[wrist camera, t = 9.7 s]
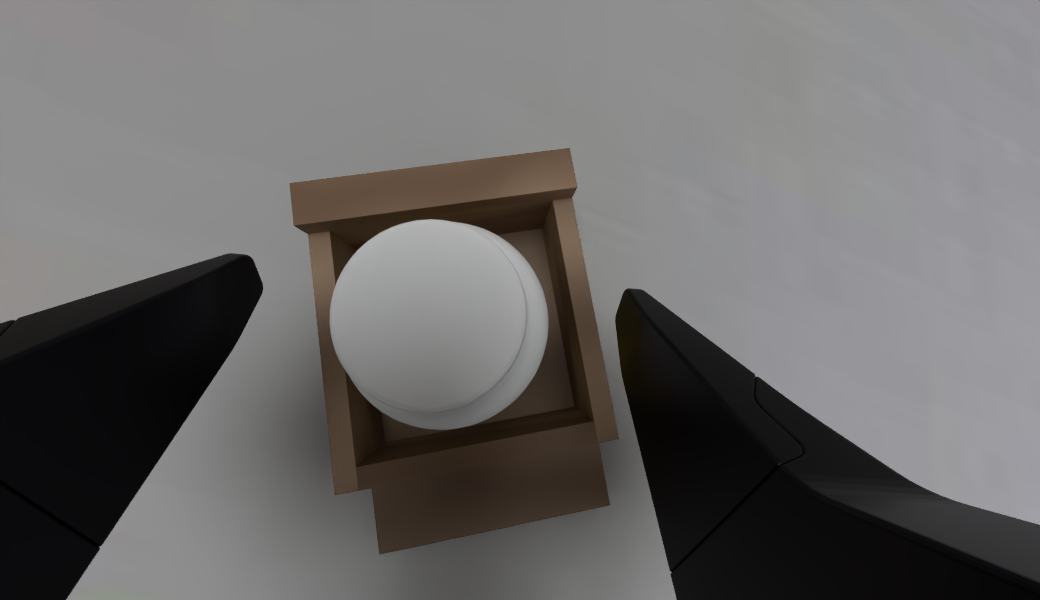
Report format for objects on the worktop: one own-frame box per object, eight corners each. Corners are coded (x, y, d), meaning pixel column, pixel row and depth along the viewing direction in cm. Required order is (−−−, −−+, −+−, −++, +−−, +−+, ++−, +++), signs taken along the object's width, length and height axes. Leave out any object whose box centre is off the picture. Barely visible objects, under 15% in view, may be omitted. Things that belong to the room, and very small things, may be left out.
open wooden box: (603, 496, 18) (651, 561, 12) (386, 542, 17) (334, 634, 11) (549, 203, 20) (569, 148, 14) (349, 231, 19) (289, 183, 13)
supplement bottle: (549, 337, 18) (624, 323, 8) (461, 419, 17) (413, 527, 7) (472, 252, 18) (443, 129, 8) (382, 329, 17) (220, 302, 7)
